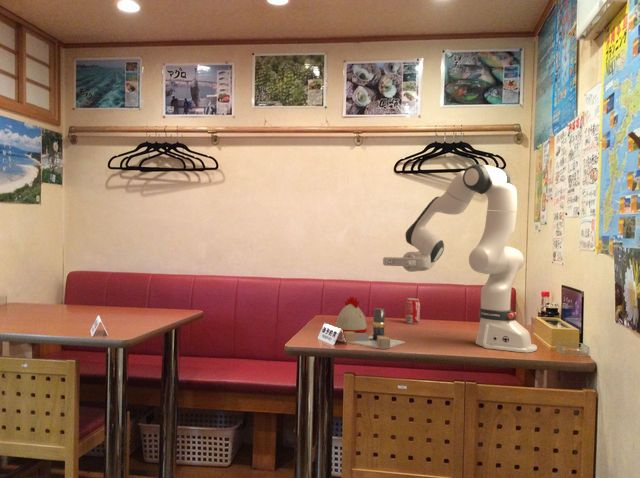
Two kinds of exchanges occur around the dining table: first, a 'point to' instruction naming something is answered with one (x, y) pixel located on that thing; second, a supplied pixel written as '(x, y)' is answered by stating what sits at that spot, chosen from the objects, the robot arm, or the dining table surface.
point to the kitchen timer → (352, 317)
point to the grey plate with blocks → (370, 340)
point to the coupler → (378, 323)
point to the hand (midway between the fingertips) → (397, 262)
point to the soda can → (412, 311)
